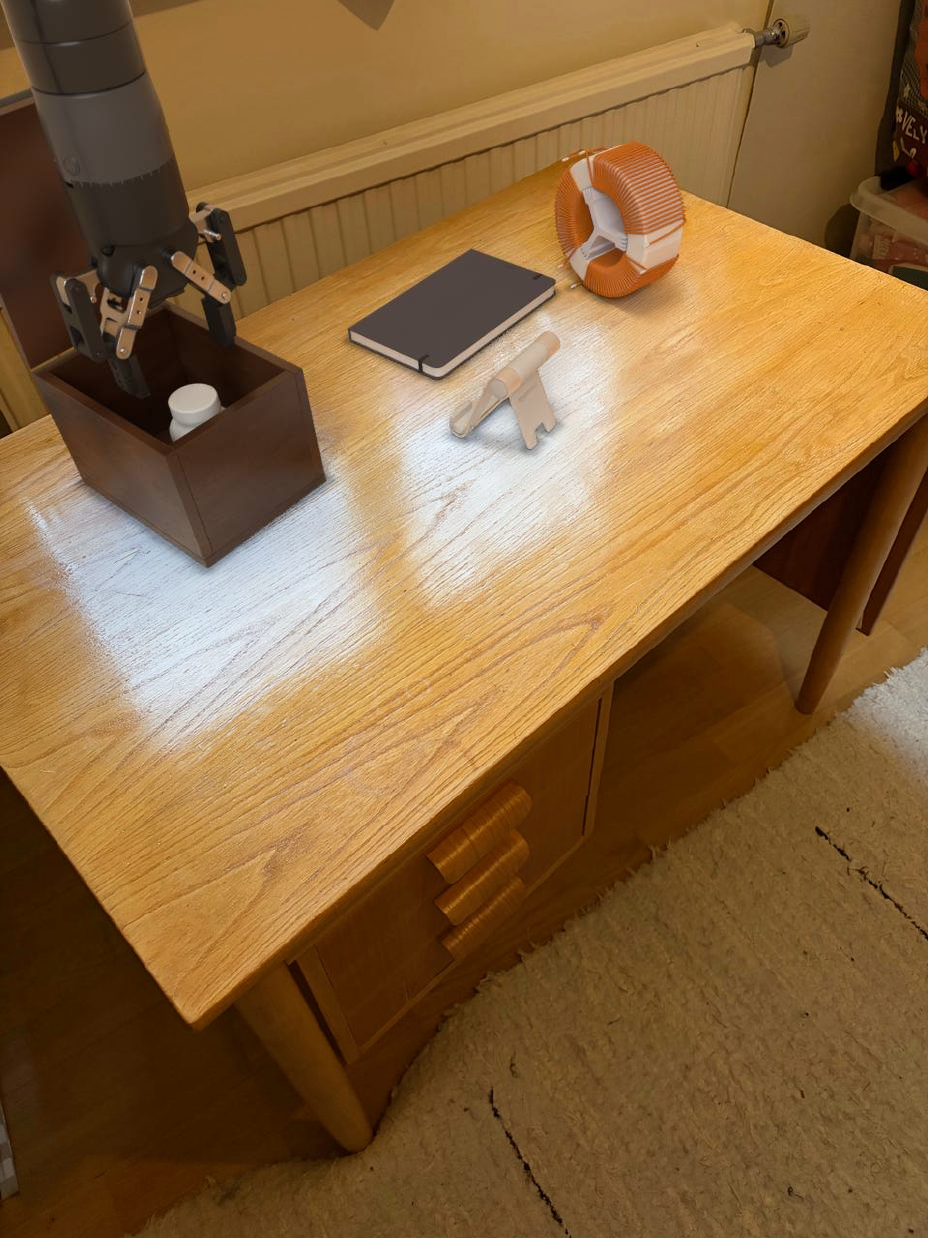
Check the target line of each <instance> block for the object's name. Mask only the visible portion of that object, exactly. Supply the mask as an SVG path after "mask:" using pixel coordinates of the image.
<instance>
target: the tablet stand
mask: <svg viewBox="0 0 928 1238" xmlns="http://www.w3.org/2000/svg"><path fill="white" fill-rule="evenodd" d="M560 349H561V340H560V337H559V336H558V335H557V334H556V333H555V332H553V331H551V330H546V331H543V332H542V333H540V335H539V336H537V338H535V339H534V340H533V341H532V342H531V343H529V344H528V345H527V346H526V347H525V348H524V349H523V350H522V351H521V352H520V353H519V354H517V355H516V356H515V357H514V358H513V359H512V360H511V361H510V362H508V363H507V364H506V365H505V366H504V367H503V368H502V369H500V370H499V372H497V373H496V374H495V375H494V376H492V377H491V379H490V380H488V382H486V384H485V385H483V389H482V393H480V395H478V396H477V397H476V398H475V399H474V400H473V401H472V400H471V399H468V400H467V401H465V402H464V403H463V404H462V405H461V406H460V407H459V408H457V410H455V411H454V412H453V413H452V414H451V415H449V429H450V431H451V433H452V434H453V435H454V436H455V437H457V438H465V437H466V436H467V435H469V434H470V433H471V432H472V431H474V430H475V427H477V426H478V425H479V424H480V423H481V422H482V421H484V419H485V418H486V417H487V416H489V415H490V414H491V413H492V412H493V411H494V410H495V409H496V408H497V407H498V406H499V405H500V404H502V403H503V401H505V400H507V399H508V400H509V402H510V406H511V409H512V411H513V414H514V417H515V420H516V421H517V425H518V427H519V430H520V433H521V435H522V438H523V441H524V444H525V446H526V449H527V450H532V449H534V448H535V447H536V446H537V445H538V443H539V442H538V439H537V434H536V429H538V427H540V425H543V426H544V428H545V430H546V432H547V433H550V432H551V431H552V429H554V428H555V426H556V419H555V416H554V414H553V410H552V408H551V404H550V401H549V398H548V396H547V393H546V390H545V386H544V383H543V381H542V378H541V377H542V376H541V375H540V372H539V369H540V368H541V367H542V366H543V365H544V364H545V363H547V362H548V361H549V360H550V359H551V358H552V357H553V356H555V354H556V353H558V351H559V350H560Z"/></svg>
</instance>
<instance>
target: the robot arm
mask: <svg viewBox="0 0 928 1238" xmlns="http://www.w3.org/2000/svg"><path fill="white" fill-rule="evenodd" d="M0 5H1V8H2V11H3V14H4V17H5V21H6V23H7V26H8V29H9V32H10V35H11V38H12V41H13V44H14V46H15V49H16V52H17V54H18V57H19V59H20V62H21V65H22V68H23V70H24V73H25V75H26V78H27V81H28V83H29V88H31V90H32V93H33V97H34V101H35V105H36V109H37V114H38V118H39V122H40V125H41V128H42V131H43V134H44V137H45V140H46V142H47V145H48V148H49V150H50V153H51V155H52V158H53V161H54V163H55V166H56V169H57V172H58V174H59V177H60V180H61V183H62V185H63V188H64V191H65V193H66V196H67V199H68V201H69V204H70V207H71V210H72V212H73V215H74V218H75V220H76V223H77V226H78V228H79V231H80V233H81V235H82V237H83V239H84V241H85V243H86V245H87V248H88V255H89V257H88V266H86V267H84V268H81V269H79V270H76V271H74V272H71V273H68V274H67V273H65V272H63V271H60V270H57V271H54V272H53V273H52V275H51V277H50V282H51V285H52V288H53V290H54V293H55V296H56V299H57V302H58V305H59V308H60V310H61V313H62V316H63V319H64V322H65V325H66V328H67V330H68V333H69V336H70V339H71V342H72V345H73V347H72V348H73V349H75V350H76V351H78V352H79V353H81V354H84V355H86V356H87V357H89V358H90V359H92V360H93V361H95V362H97V363H103V362H104V361H105V360H106V359H108V362H109V365H110V367H111V370H112V372H113V375H114V377H115V380H116V382H117V385H118V386H119V387H120V388H121V389H122V390H124V391H126V392H127V393H129V394H131V395H132V396H133V395H134V396H136V397H138V398H140V399H143V398H145V397H146V396H148V395H149V394H150V392H149V389H148V387H147V384H146V381H145V378H144V376H143V373H142V370H141V367H140V364H139V362H138V359H137V356H136V354H134V353H132V352H131V351H132V347H133V343H134V339H135V335H136V331H137V330H139V329H141V328H142V326H143V322H144V318H145V314H146V310H148V309H150V310H152V309H154V308H155V307H157V306H159V305H160V304H162V303H163V302H164V301H165V300H167V299H171V298H176V297H178V296H180V295H182V294H184V293H185V292H186V291H185V288H186V287H187V285H189V286H191V287H192V288H193V289H195V290H196V291H198V292H199V293H200V294H202V295H203V296H204V297H202V298H200V302H201V306H202V309H203V310H202V311H203V313H204V315H205V316H204V317H205V320H207V324H208V327H209V331H210V334H211V337H212V339H213V341H214V342H215V343H217V344H219V345H221V346H223V347H225V348H227V349H228V348H229V347H231V346H233V345H235V339H234V336H236V335H237V329H238V328H237V324H236V321H235V317H234V313H233V309H232V305H231V299H232V292H233V291H234V290H235V289H236V288H237V287H243V286H245V285H246V283H247V280H248V275H247V274H248V273H247V271H246V267H245V265H244V264H245V263H244V261H243V257H242V254H241V251H240V247H239V244H238V240H237V236H236V232H235V230H234V226H233V223H232V220H231V217H230V213H229V211H227V210H225V209H222V208H220V207H217V206H215V205H213V204H210V203H209V202H206V201H200V202H198V204H197V205H196V207H195V213H194V214H192V215H190V205H189V202H188V198H187V194H186V190H185V187H184V183H183V180H182V176H181V171H180V169H179V164H178V161H177V157H176V154H175V153H176V152H175V150H174V149H175V148H174V146H173V142H172V139H171V134H170V129H169V125H168V124H167V119H166V116H165V113H164V109H163V106H162V103H161V99H160V97H159V95H158V92H157V90H156V88H155V85H154V83H153V80H152V78H151V74H150V72H149V68H148V65H147V61H146V58H145V54H144V51H143V46H142V42H141V40H140V36H139V33H138V29H137V26H136V21H135V18H134V15H133V11H132V7H131V4H130V0H0ZM200 239H202V240H204V242H205V246H206V249H207V251H208V255H209V259H210V262H211V265H212V268H213V271H214V272H213V274H211V273H210V272H209V271H207V269H205V268H203V267H202V266H200V265H199V264H198V263H196V262H195V257H196V253H197V249H198V245H199V242H200ZM98 283H100V284H101V285H103V286H104V287H105V288H104V292H103V296H102V300H101V305H100V312H101V314H102V320H101V324H100V327H99V323H98V320H97V317H96V314H95V311H94V308H93V305H92V303H95V302H96V301H97V298H96V297H95V288H96V286H97V284H98ZM122 299H124V300H125V301H127V302H128V306H127V309H126V311H125V310H123V309H122V307H121V300H122Z"/></svg>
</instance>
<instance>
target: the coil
mask: <svg viewBox="0 0 928 1238" xmlns="http://www.w3.org/2000/svg"><path fill="white" fill-rule="evenodd" d="M594 152H598V153H595V154H592V155H590V156H589V153H594ZM583 155H585V158H582V159H581V160H579V161H577V162H574V163H572V164H570V165H569V166H568V167H567V168H566V169H565V171H564V173H563V174H562V176H561V177H560V180H559V183H558V186H557V188H556V194H555V198H554V206H553V207H554V214H553V215H554V224H555V228H556V230H555V232H557V233H556V236H558V237H557V240H559V241H558V243H559V244H560V245H559V247H560V248H561V250H560V251H561V252H562V255H565V257H566V259H565V261H564V262H563V263H562V264H559V265H557V266H556V268H557V269H560V268H563V267H564V266H565V265H567V263H568V262H569V264H570V265H571V267H572V269H573V271H574V272H575V273H576V274H577V276H578V277H579V278H580V279H581V280H582V281H580V282H577V283H574V284H572V285H570V289H574V288H575V287H579V286H580V285H583V286H585V288H587V289H588V290H590V291H591V292H593V293H595V294H597V295H599V296H601V297H605V298H610V299H611V298H619V297H625V296H626V295H628V294H630V293H633V292H635V291H637V290H639V289H642V288H644V287H645V286H647V285H650V284H651V283H653V282H656V281H658V280H660V279H661V278H663V277H665V276H666V275H667V274H668V273H669V272H670V271H671V270H672V268H674V266H675V265H676V263H677V262H678V260H679V258H680V253H679V252H680V248H681V245H682V240H683V236H684V225H685V224H687V221H688V219H687V218H686V217H687V216H686V214H685V213H686V210H685V208H686V206H685V205H684V204H685V201H682V200H684V197H683V196H682V195H683V192H681V188H680V184H678V180H677V179H676V176H675V175H674V174H675V173H674V172H672V168H670V165H669V164H668V163H667V161H665V159H664V158H663V156H661V155H660V154H659V152H657V151H656V150H654V149H653V148H651V146H648V145H647V144H645V143H642V142H639V141H634V140H632V141H629V142H627V143H624V144H620V145H615V146H613V147H611V148H609V147H605V146H599V147H595V148H591V149H587V150H585V149H584V150H581V151H579V152H577V153H575V154H572V155H570V156H567V157H565V158H562V159H561V162H566V161H569V160H572V159H575V158H578V157H580V156H583ZM680 196H681V197H680Z"/></svg>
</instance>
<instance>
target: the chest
mask: <svg viewBox="0 0 928 1238" xmlns="http://www.w3.org/2000/svg"><path fill="white" fill-rule="evenodd" d="M234 339H235V345H233V346H231V347H229V348H228V349H227V348H225V347H223V346H221V345H219V344H217V343H215V342H214V341H213V339H212V337H211V334H210V331H209V327H208V324H207V320H206V318H203V317H200V316H199V315H197V314H195V313H193V312H191V311H189V310H187V309H185V308H183V307H180V306H178V305H177V304H175V303H174V302H171V301H169V300H167V299H166V300H165V301H164V302H163V303H162V304H160V305H159V306H157V307H155V308H154V309H152V310H150V309H148V308H147V310H146V314H145V318H144V322H143V326H142V328H141V329H139V330H137V331H136V335H135V339H134V343H133V347H132V351H131V352H132V353H134V354H136V356H137V359H138V362H139V364H140V367H141V370H142V373H143V376H144V378H145V381H146V384H147V387H148V389H149V392H150V394H149V395H148V396H146V397H145V398H143V399H140V398H138V397H136V396H134V395H133V396H132V395H131V394H129V393H127V392H126V391H124V390H122V389H121V388H120V387H119V386H118V385H117V382H116V380H115V377H114V375H113V372H112V370H111V367H110V365H109V362H108V359H106V360H105V361H104V362H103V363H97V362H95V361H93V360H92V359H90V358H89V357H87V356H86V355H84V354H81V353H79V352H78V351H76V350H75V349H74V348H73V349H72V350H71V349H70V351H68V352H66V353H64V354H61V356H58V357H56V358H55V359H53V360H51V361H48V362H47V363H45V364H44V365H41V367H38V368H37V369H34V370H33V371H31V372H30V374H31V377H32V378H33V380H34V382H35V385H36V387H37V388H38V391H39V393H40V395H41V397H42V399H43V401H44V403H45V405H46V407H47V409H48V411H49V414H50V415H51V417H52V419H53V422H54V423H55V426H56V429H57V430H58V432H59V434H60V436H61V438H62V441H63V442H64V443H65V446H66V449H67V451H68V452H69V454H70V457H71V459H72V461H73V463H74V466H75V467H76V469H77V471H78V473H79V475H80V478H81V480H82V481H83V484H85V485H86V486H88V487H89V488H91V489H92V490H94V491H95V492H97V493H98V494H100V495H101V496H103V497H104V498H105V499H107V500H108V501H109V502H111V503H113V504H114V505H116V506H117V507H118V508H119V509H121V510H123V511H124V512H125V513H127V514H128V515H130V516H131V517H133V518H134V519H136V520H137V521H139V523H141V524H142V525H144V526H145V527H147V528H149V529H150V530H151V531H153V532H155V534H157V535H159V536H160V537H162V538H163V540H166V541H167V542H169V543H170V544H172V545H173V546H174V547H176V548H177V549H179V550H180V551H182V552H183V553H185V554H186V555H187V556H188V557H190V558H192V559H193V560H194V561H196V562H197V563H199V564H201V565H202V566H203V567H205V568H206V569H209V568H210V567H212V566H213V565H215V564H216V563H217V562H219V561H221V559H223V558H225V557H226V556H227V555H228V554H229V553H231V552H232V551H233V550H235V549H236V548H238V547H240V546H241V545H242V544H243V543H244V542H246V541H247V540H249V539H250V538H251V537H253V536H254V535H255V534H257V533H258V532H259V531H260V530H262V529H263V528H265V527H266V526H268V525H269V524H270V523H271V522H273V521H274V520H276V519H277V518H278V517H279V516H281V515H282V514H284V513H285V512H286V511H287V510H290V509H291V507H293V506H294V505H295V504H297V503H299V502H300V501H301V500H303V499H304V498H305V497H307V496H308V495H309V494H311V493H312V492H313V491H315V490H316V489H317V488H318V487H320V486H321V485H322V484H324V483H325V482H327V479H326V475H325V470H324V465H323V461H322V456H321V455H322V454H321V450H320V446H319V441H318V440H319V439H318V436H317V431H316V427H315V426H316V425H315V422H314V417H313V412H312V407H311V402H310V397H309V393H308V387H307V383H306V378H305V373H304V369H303V368H302V367H300V366H298V365H296V364H294V363H292V362H290V361H289V360H286V359H284V358H282V357H280V356H278V355H276V354H274V353H273V352H270V351H268V350H266V349H264V348H262V347H260V346H258V345H256V344H254V343H252V342H250V341H249V340H246V339H244V338H242V337H240V335H237V334H236V336H234ZM190 384H206V385H209V386H211V387H213V388H214V389H215V390H216V392H217V394H218V397H219V400H220V403H221V406H222V407H224V408H226V409H224V410H223V411H221V412H220V413H218V414H216V415H215V416H213V417H212V418H210V419H209V420H207V421H205V422H204V423H202V424H201V425H199V426H198V427H196V428H194V429H193V430H191V431H190V432H188V433H187V434H185V435H183V436H182V437H180V438H179V439H177V440H176V441H174V442H173V441H172V438H171V435H170V424H171V422H172V420H173V416H172V413H171V410H170V407H169V403H168V402H169V398H170V396H171V395H172V394H173V393H174V392H175V391H176V390H178V389H179V388H181V387H184V386H187V385H190Z"/></svg>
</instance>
